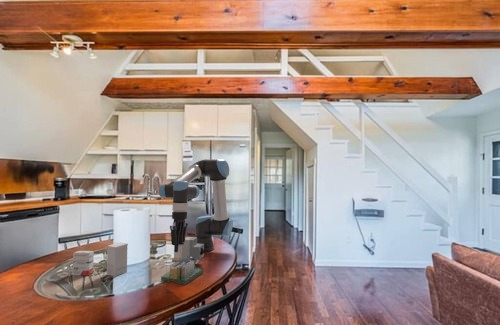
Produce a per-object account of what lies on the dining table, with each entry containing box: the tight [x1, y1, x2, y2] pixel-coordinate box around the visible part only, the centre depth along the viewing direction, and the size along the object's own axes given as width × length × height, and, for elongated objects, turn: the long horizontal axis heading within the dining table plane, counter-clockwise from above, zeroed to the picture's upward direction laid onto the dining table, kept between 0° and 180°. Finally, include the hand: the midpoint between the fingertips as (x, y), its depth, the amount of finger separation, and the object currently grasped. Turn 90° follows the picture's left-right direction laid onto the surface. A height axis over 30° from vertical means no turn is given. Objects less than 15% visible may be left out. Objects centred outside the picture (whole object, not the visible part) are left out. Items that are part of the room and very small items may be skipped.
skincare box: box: [106, 241, 129, 278], centre depth 153 cm, size 8×7×16 cm
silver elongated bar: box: [171, 256, 194, 263], centre depth 150 cm, size 16×4×2 cm, turn 161°
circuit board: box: [160, 260, 204, 286], centre depth 150 cm, size 18×14×7 cm
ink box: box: [72, 250, 95, 277], centre depth 152 cm, size 8×5×12 cm, turn 89°
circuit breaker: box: [179, 236, 206, 264], centre depth 171 cm, size 8×14×15 cm, turn 78°
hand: (177, 257), depth 145 cm, fingers closed
